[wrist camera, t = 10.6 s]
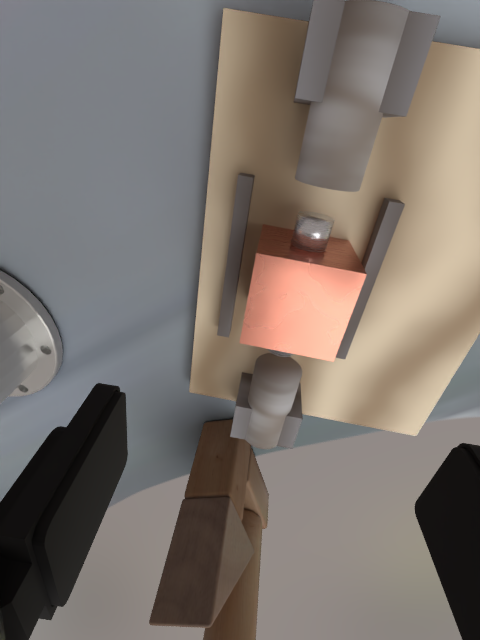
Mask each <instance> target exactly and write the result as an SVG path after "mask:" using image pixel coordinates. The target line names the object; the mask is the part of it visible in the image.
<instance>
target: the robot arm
mask: <svg viewBox="0 0 480 640" xmlns="http://www.w3.org/2000/svg"><path fill="white" fill-rule="evenodd" d="M62 357H63V349H62V341H61V338H60V335H59V332H58V329H57V327H56V325H55V323H54V322H53V320H52V318H51V316H50V315H49V313H48V312H47V310H46V309H45V308H44V306H43V305H42V304H41V302H40V301H39V300H38V299H37V298H36V297H35V296H34V295H33V294H32V293H31V292H30V291H29V290H28V289H27V288H25V287H24V286H23V285H22V284H20V283H19V282H18V281H16V280H15V279H14V278H12V277H11V276H9V275H7V274H6V273H4V272H2V271H1V270H0V404H1V403H2V402H3V401H4V400H5V399H6V398H7V397H8V396H9V397H11V396H25V395H30V394H33V393H35V392H38V391H40V390H42V389H43V388H44V387H45V386H46V385H48V384H49V383H50V382H51V380H52V379H53V378H54V377H55V376H56V375H57V373H58V371H59V369H60V367H61V364H62ZM127 455H128V452H127V422H126V395H125V393H123V392H120V388H119V386H113V385H107V384H101V383H98V384H96V385H95V386H94V388H93V389H92V391H91V392H90V394H89V395H88V396H87V398H86V399H85V401H84V402H83V404H82V405H81V407H80V408H79V410H78V411H77V413H76V414H75V416H74V417H73V419H72V420H71V422H70V423H69V425H68V426H67V427H57V428H55V429H54V430H53V431H52V432H51V433H50V434H49V435H48V437H47V438H46V440H45V441H44V442H43V444H42V445H41V447H40V448H39V449H38V451H37V452H36V454H35V455H34V456H33V458H32V459H31V460H30V462H29V463H28V465H27V466H26V467H25V469H24V470H23V472H22V473H21V474H20V476H19V477H18V479H17V480H16V481H15V483H14V484H13V486H12V487H11V488H10V490H9V491H8V492H7V494H6V495H5V497H4V498H3V499H2V501H1V502H0V640H29V638H30V636H31V634H32V631H33V629H34V627H35V625H36V623H37V621H38V619H39V618H40V619H46V620H51V619H52V617H53V615H54V612H55V610H56V608H57V606H61V607H63V606H64V605H65V604H66V602H67V600H68V598H69V596H70V594H71V592H72V589H73V587H74V585H75V583H76V580H77V578H78V575H79V573H80V571H81V568H82V566H83V564H84V561H85V559H86V557H87V554H88V552H89V550H90V547H91V545H92V543H93V540H94V538H95V536H96V533H97V531H98V529H99V526H100V524H101V522H102V519H103V517H104V515H105V512H106V510H107V508H108V505H109V503H110V501H111V498H112V496H113V494H114V491H115V489H116V487H117V484H118V482H119V480H120V477H121V475H122V473H123V470H124V468H125V465H126V461H127ZM415 514H416V517H417V519H418V522H419V525H420V528H421V530H422V533H423V536H424V538H425V541H426V544H427V546H428V549H429V552H430V554H431V557H432V560H433V562H434V565H435V568H436V570H437V573H438V576H439V578H440V581H441V584H442V586H443V589H444V591H445V594H446V597H447V600H448V602H449V605H450V608H451V610H452V613H453V616H454V618H455V621H456V623H457V626H458V629H459V632H460V634H461V637H462V639H463V640H480V446H478V445H472V444H466V443H462V444H460V445H459V446H458V447H455V448H453V449H452V450H451V452H450V453H449V455H448V456H447V458H446V459H445V461H444V462H443V463H442V465H441V466H440V468H439V469H438V471H437V472H436V474H435V475H434V477H433V478H432V479H431V481H430V482H429V484H428V485H427V487H426V488H425V490H424V491H423V492H422V494H421V495H420V497H419V498H418V500H417V501H416V503H415Z"/></svg>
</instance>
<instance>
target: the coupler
mask: <svg viewBox="0 0 480 640" xmlns="http://www.w3.org/2000/svg"><path fill="white" fill-rule="evenodd" d="M334 221H335V220H334V219H333V218H332V217H330V216H327V215H324V214H321V213H317V212H311V211H300V212H298V215H297V219H296V223H295V227H294V230H292V229H286V228H281V227H276V226H271V225H265V224H263V226H262V231H261V235H260V239H259V244H258V248H257V252H256V257H255V263H254V268H253V273H252V279H251V284H250V289H249V295H248V300H247V305H246V311H245V316H244V321H243V327H242V332H241V337H240V343H241V344H246V345H251V346H256V347H261V348H266V349H268V350H269V352H271V353H272V354H274V355H276V356H279V357H291V356H293V355H294V354H297V355H302V356H307V357H312V358H317V359H322V360H327V361H332V362H334V359H335V357H336V354H337V351H338V349H339V346H340V344H341V341H342V338H343V336H344V333H345V330H346V328H347V325H348V322H349V320H350V317H351V315H352V312H353V309H354V307H355V304H356V301H357V299H358V296H359V293H360V291H361V288H362V286H363V283H364V280H365V278H366V275H367V273H366V271H365V270H364V268H363V266H362V264H361V262H360V260H359V258H358V256H357V254H356V253H355V251H354V249H353V247H352V245H351V243H350V241H349V240H345V239H340V238H334V237H330V234H331V231H332V227H333V224H334Z"/></svg>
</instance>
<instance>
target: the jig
mask: <svg viewBox="0 0 480 640" xmlns="http://www.w3.org/2000/svg"><path fill="white" fill-rule="evenodd" d="M440 17H441V16H438V15H431V14H425V13H419V12H412V11H409V10H407V9H405V8H403V7H400V6H398V5H394V4H390V3H386V2H380V1H372V0H349V1H343V0H314V1H313V5H312V10H311V14H310V19H309V22H308V21H302V20H296V19H289V18H283V17H277V16H271V15H265V14H258V13H252V12H246V11H240V10H233V9H227V8H223V19H222V31H221V42H220V53H219V64H218V75H217V87H216V98H215V109H214V120H213V132H212V143H211V154H210V165H209V176H208V188H207V199H206V210H205V221H204V232H203V244H202V255H201V266H200V277H199V289H198V300H197V311H196V322H195V333H194V345H193V356H192V367H191V378H190V389H189V392H191V393H196V394H202V395H207V396H212V397H217V398H222V399H227V400H233V401H236V407H235V412H234V418H233V423H232V429H231V435H230V437H234V438H239V439H244V440H246V441H247V442H248V443H249V444H251V445H252V446H254V447H256V448H260V449H271V448H274V447H276V446H280V447H285V448H290V449H292V448H293V445H294V442H295V439H296V437H297V434H298V431H299V428H300V425H301V422H302V419H303V418H302V414H305V415H310V416H315V417H321V418H326V419H331V420H336V421H341V422H346V423H352V424H357V425H362V426H367V427H372V428H378V429H383V430H388V431H394V432H399V433H404V434H409V435H414V436H416V435H417V434H418V432H419V431H420V429H421V427H422V426H423V424H424V423H425V421H426V419H427V418H428V416H429V414H430V413H431V411H432V410H433V408H434V406H435V405H436V403H437V401H438V400H439V398H440V397H441V395H442V393H443V392H444V390H445V388H446V387H447V385H448V384H449V382H450V380H451V379H452V377H453V376H454V374H455V372H456V371H457V369H458V367H459V366H460V364H461V363H462V361H463V359H464V358H465V356H466V354H467V353H468V351H469V350H470V348H471V346H472V345H473V343H474V341H475V340H476V338H477V337H478V335H479V333H480V49H476V48H470V47H464V46H458V45H452V44H445V43H439V42H433V41H432V40H433V37H434V34H435V31H436V29H437V26H438V23H439V20H440ZM300 211H311V212H317V213H321V214H324V215H327V216H330V217H332V218H333V219H334V220H335V221H334V224H333V227H332V231H331V234H330V237H334V238H340V239H345V240H349V241H350V243H351V245H352V247H353V249H354V251H355V253H356V254H357V256H358V258H359V260H360V262H361V264H362V266H363V268H364V270H365V271H366V273H367V275H366V278H365V280H364V283H363V286H362V288H361V291H360V293H359V296H358V299H357V301H356V304H355V307H354V309H353V312H352V315H351V317H350V320H349V322H348V325H347V328H346V330H345V333H344V336H343V338H342V341H341V344H340V346H339V349H338V351H337V354H336V357H335V359H334V362H332V361H327V360H322V359H317V358H312V357H307V356H302V355H297V354H294V355H293V356H291V357H279V356H276V355H274V354H272V353H271V352H269V350H268V349H266V348H261V347H256V346H251V345H246V344H241V343H240V337H241V332H242V327H243V321H244V316H245V311H246V305H247V300H248V295H249V289H250V284H251V279H252V273H253V268H254V263H255V257H256V252H257V248H258V244H259V239H260V235H261V231H262V226H263V224H265V225H271V226H276V227H281V228H286V229H292V230H294V227H295V223H296V219H297V215H298V212H300Z"/></svg>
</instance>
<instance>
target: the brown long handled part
mask: <svg viewBox="0 0 480 640" xmlns="http://www.w3.org/2000/svg"><path fill="white" fill-rule="evenodd" d="M232 423H233V419H229V420H220V421H211V422H206V423H204V425H203V429H202V432H201V436H200V440H199V443H198V447H197V451H196V454H195V458H194V462H193V465H192V469H191V473H190V476H189V480H188V484H187V488H186V491H185V499H184V500H183V501H182V504H181V508H180V511H179V515H178V519H177V522H176V526H175V530H174V533H173V537H172V541H171V544H170V548H169V551H168V555H167V559H166V562H165V566H164V570H163V573H162V577H161V581H160V584H159V588H158V591H157V595H156V599H155V603H154V606H153V610H152V613H151V617H150V621H149V623H150V625H156V626H157V625H158V626H180V627H202V628H205V632H204V638H203V640H256V624H257V608H258V591H259V573H260V556H261V539H262V529H265V528H266V527H267V521H268V519H267V518H268V499H269V494H268V491H267V488H266V486H265V483H264V480H263V477H262V475H261V472H260V469H259V467H258V464H257V461H256V458H255V456H254V453H253V450H252V448H251V444H249V443H248V442H247V441H246V440H244V439H239V438H234V437H230V435H231V429H232Z"/></svg>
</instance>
